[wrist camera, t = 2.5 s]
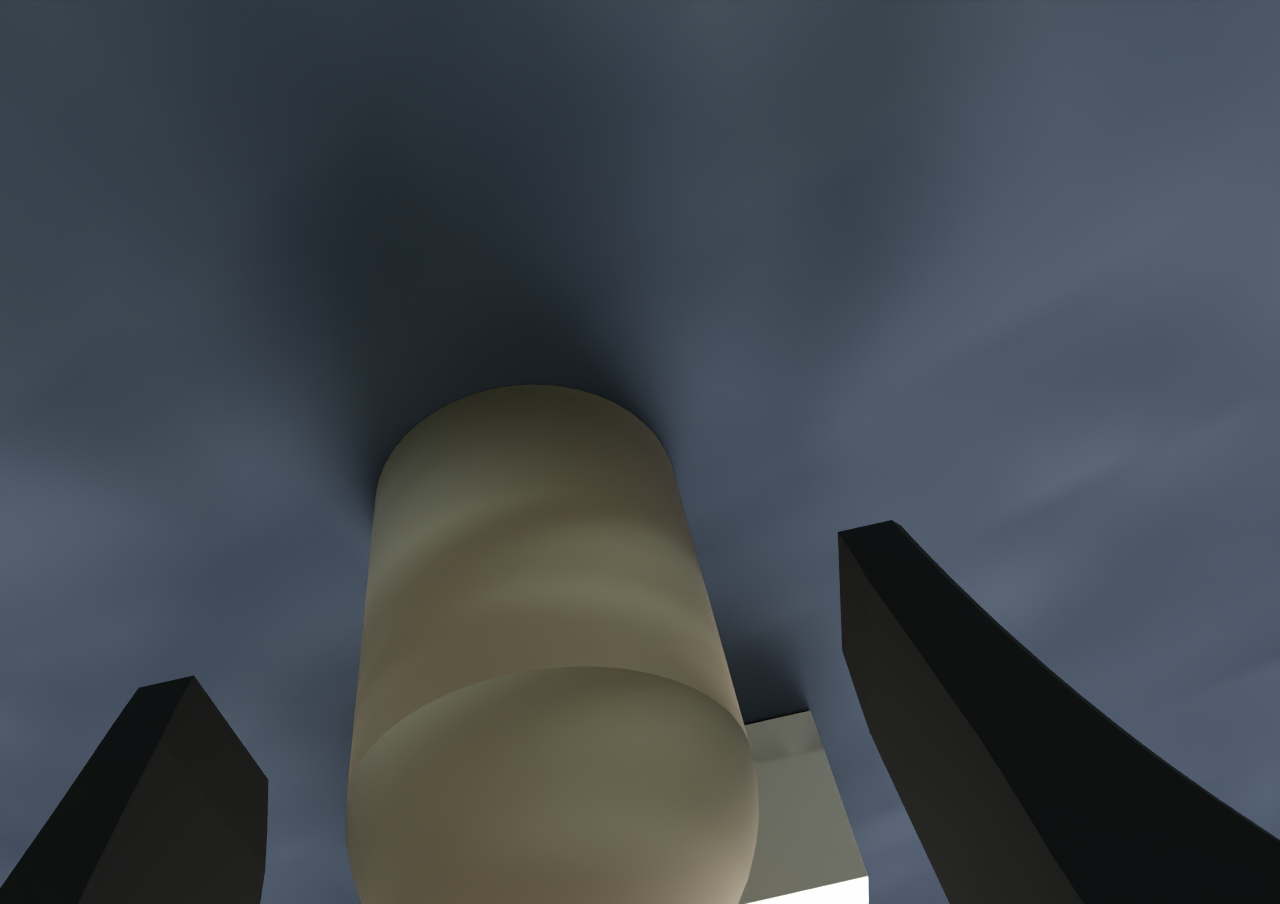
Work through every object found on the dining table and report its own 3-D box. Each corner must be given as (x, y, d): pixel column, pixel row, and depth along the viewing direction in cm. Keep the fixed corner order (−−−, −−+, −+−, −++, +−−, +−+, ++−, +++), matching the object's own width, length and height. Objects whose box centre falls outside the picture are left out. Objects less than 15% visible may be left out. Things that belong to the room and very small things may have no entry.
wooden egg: (653, 354, 12) (796, 835, 7) (692, 578, 14) (818, 1049, 9) (329, 423, 12) (242, 961, 7) (425, 636, 14) (412, 1143, 9)
